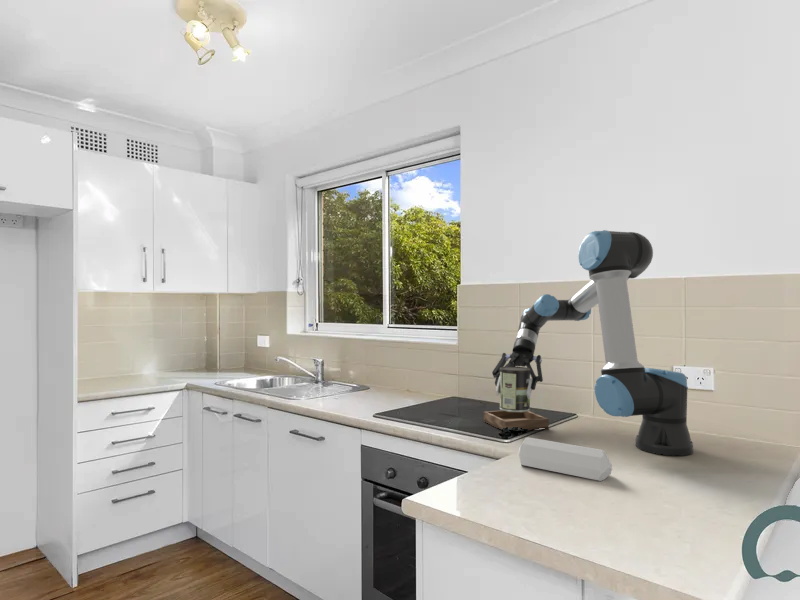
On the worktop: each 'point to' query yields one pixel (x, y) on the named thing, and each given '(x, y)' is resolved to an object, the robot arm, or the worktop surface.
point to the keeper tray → (515, 420)
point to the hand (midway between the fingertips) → (512, 394)
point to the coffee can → (514, 389)
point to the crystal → (565, 458)
